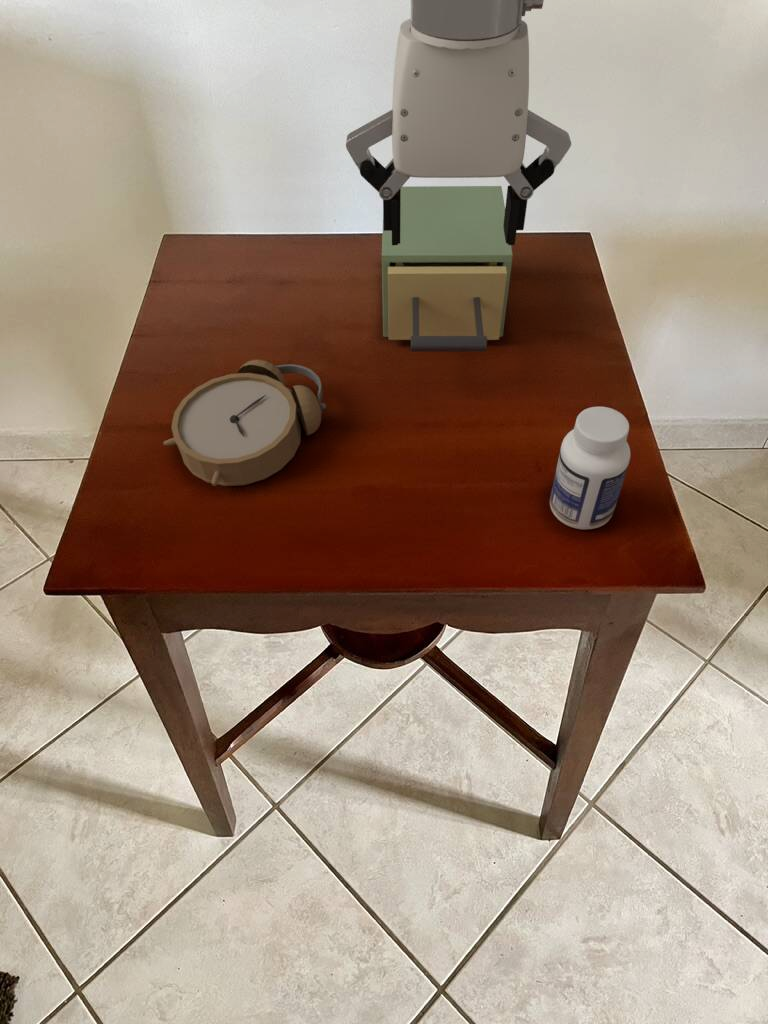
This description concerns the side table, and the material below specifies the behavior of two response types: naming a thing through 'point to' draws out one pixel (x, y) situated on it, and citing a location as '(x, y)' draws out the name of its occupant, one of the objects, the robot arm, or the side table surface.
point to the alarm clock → (245, 423)
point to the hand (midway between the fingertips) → (452, 236)
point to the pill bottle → (591, 469)
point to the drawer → (446, 304)
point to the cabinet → (448, 231)
